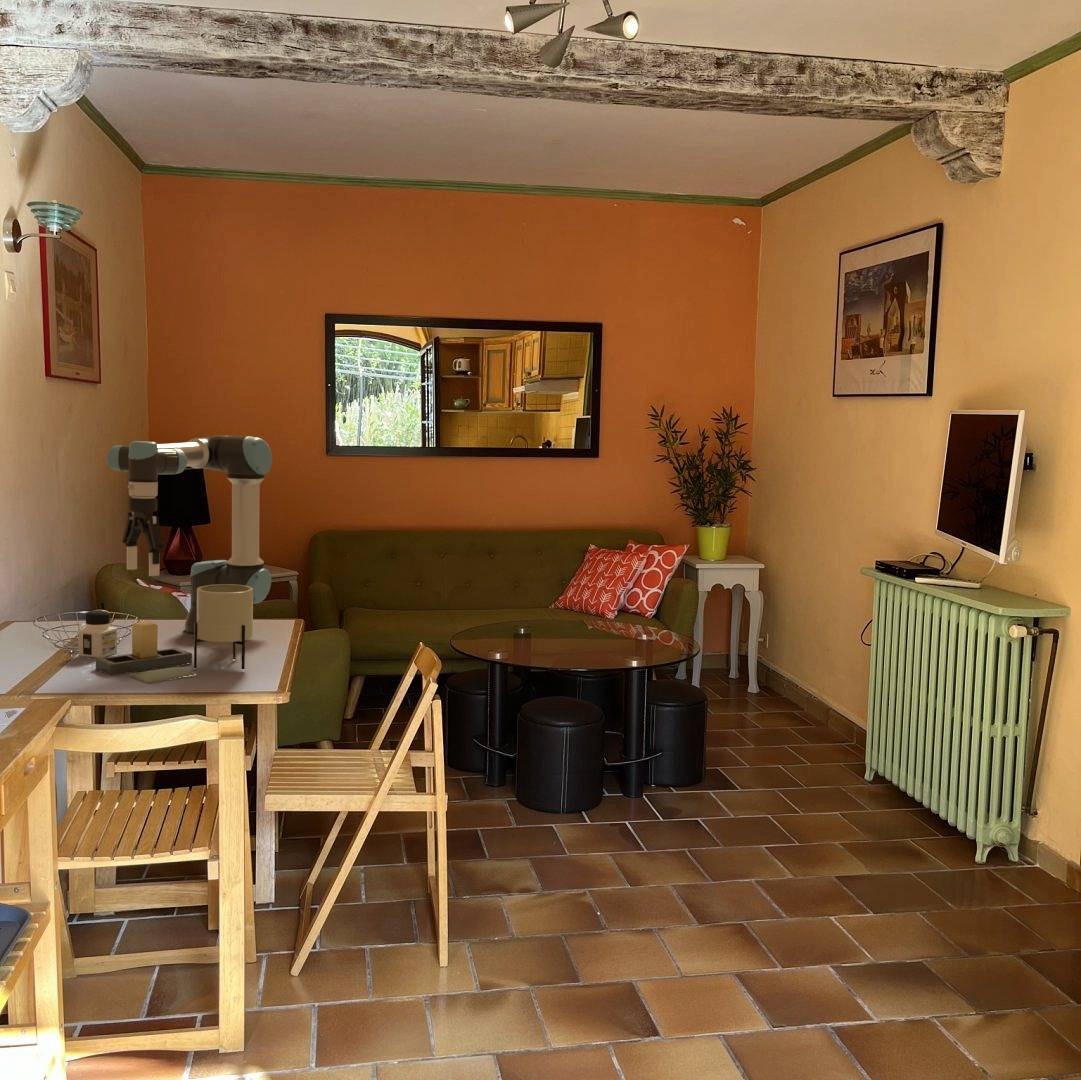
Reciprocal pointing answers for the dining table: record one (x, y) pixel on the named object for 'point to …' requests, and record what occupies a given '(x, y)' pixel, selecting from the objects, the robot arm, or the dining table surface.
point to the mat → (162, 674)
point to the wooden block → (144, 640)
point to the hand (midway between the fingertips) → (142, 572)
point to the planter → (224, 616)
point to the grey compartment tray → (143, 661)
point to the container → (97, 635)
